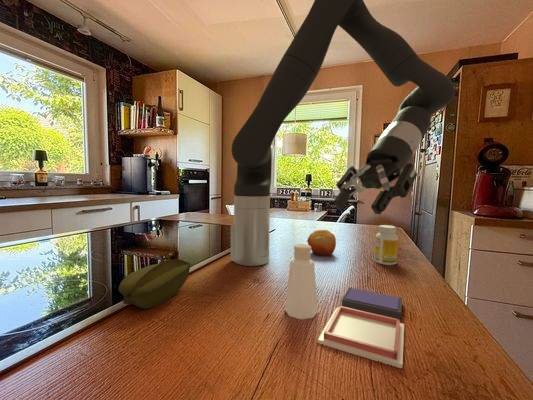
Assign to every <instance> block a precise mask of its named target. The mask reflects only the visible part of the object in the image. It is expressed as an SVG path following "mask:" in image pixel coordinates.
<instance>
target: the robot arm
mask: <svg viewBox="0 0 533 400" xmlns="http://www.w3.org/2000/svg"><path fill="white" fill-rule="evenodd" d="M337 27H340V28H341V29H342V30H343V31H345V32H346V33H347V34H348V35H349V36H350V37H351V38H352V39H353V40H354V41H355V42H356V43H357V44H358V45H359V47H361V48H362V49H363V50H364V51H365V52H366V54H368V56H369V57H370V58H371V60H372V61H373V62H374V63H375V64H376V66H377V67H378V68H379V69H380V71H381V72H382V73H383V75H384V76H385V77H386V79H387V80H388V81H389V82H390V84H391V85H393V86H394V87H402V86H403V85H405V84H407V83H409V82H411V83H413V84H415V85H417V87H415V88H414V90H412V91H411V92H410V93H409V94H408V95H407V96H406V97H405V98H404V100H402V102H401V103H400V105H399V108H398V110H397V114H396V115H395V117H394V118H393V119H392V121H391V122H390V124H389V125H388V126H387V128H385V129H384V131H383V132H382V133H381V135H380V136H379V138H378V139H377V140H376V141H375V143H374V145H373V146H372V147H371V149H370V150H369V152H368V153H367V155H366V159H365V164H364V165H363V166H362V167H361V168H355V166H354V165H351V166H349V168H348V169H347V170H346V171H345V173H344V174H343V175H342V176H341V177H340V179H339V180H338V182H337V183H336V184H335V185H336V187H337V188H338V190H339V193H338V194H337V196H336V197H335V198H334V200H333V204H334V206H335V207H336V208H337V210H343V209H344V207H345V206H346V204H347V203H348V201H350V198H351V196H353V195H354V194H356V193H361V192H363V191H365V190H366V189H375V190H376V189H377V190H380V189H382V190H380V191H379V193H378V194H377V196H376V198H375V199H374V201H372V203H371V206H370V208H371V210H372V211H373V213H374V214H375V215H381V214H382V212H385V211H386V210H387V207H388V206H389V204H390V202H392V200H394V199H395V198H397V197H400V198H402V199H403V198H404V199H405V198H406V197H407V196H408V194H409V192H410V191H411V190H410V189H412V186H413V184H414V182H415V181H416V179H417V176H418V173H417V171H416V169H415V167H414V165H413V163H411V160H412V159H413V158H414V155H415V154H416V152H417V151H418V149H419V147H420V143H421V142H422V140H423V138H424V137H425V135H426V133H427V132H428V130H429V128H430V126H431V122H432V120H431V119H432V118H431V117H432V116H434V115H435V114H436V113H437V112H439V111H440V110H442V109H443V108H445V107H446V106H447V105H448V104H450V103H452V101H453V100H454V98H455V95H456V89H455V85H454V83H453V80H451V79H450V78H449V76H447V75H446V74H445V73H443V72H441V71H439V70H438V69H436V68H434V67H433V66H431V65H430V64H429V63H427V62H426V61H424V60H423V59H422V58H420V56H419V55H418V54H417V53H416V51H415V50H414V49H413V48H412V47H411V45H410V44H409V43H408V42H407V41H406V40H405V39H404V38H403V36H402V35H400V34H399V33H397V31H395V30H393V29H391V28H389V27H387V26H385V25H383V24H381V23H380V22H379V21H378V20H376V18H375V17H374V16H373V15H372V14H371V12H370V10H369V9H368V7H367V5H366V3H365V1H364V0H314V1H313V3H312V6H311V7H310V9H309V11H308V14H307V15H306V17H305V19H304V20H303V22H302V24H301V25H300V26H299V28H298V30H297V32H296V33H295V36H294V37H293V39H292V40H291V43H289V46H288V47H287V49H286V51H285V52H284V54H283V55H282V57H281V59H280V61H279V62H278V64H277V66H276V68H275V69H274V71H273V74H272V76H271V78H270V80H269V81H268V83H267V85H266V87H265V89H264V91H263V93H262V95H261V97H260V99H259V101H258V102H257V104H256V106H255V108H254V109H253V111H252V113H251V114H250V116H249V117H248V118H247V120H246V121H245V122H244V124H243V125H242V127H241V128H240V130H239V131H238V132H237V134H235V137H234V139H233V141H232V143H231V150H230V151H231V155H232V158H233V160H234V162H236V164H237V165H236V180H235V183H234V185H233V186H234V187H233V217H234V218H233V223H232V224H231V225H230V261H231V262H234V264H236V265H240V266H244V267H245V266H246V267H247V266H248V267H257V266H261V265H266V264H268V263H269V262H270V222H271V217H270V215H271V214H270V213H271V210H270V209H271V184H272V165H273V164H272V163H273V162H272V160H273V159H272V158H273V157H272V155H273V154H272V153H273V151H272V144H273V141H274V139H275V137H276V135H277V133H278V132H279V130H280V128H281V126H282V124H283V123H284V121H285V120H286V119H287V117H288V116H289V115H290V114H291V113H292V111H294V109H295V108H297V106H298V105H299V104H300V102H301V101H302V100H303V99H304V97H305V96H306V94H307V93H308V91H309V90H310V88H311V87H312V85H313V83H314V81H315V80H316V78H317V77H318V75H319V72H320V71H321V68H322V66H323V65H324V62H325V61H324V60H325V58H326V57H327V56H326V55H327V53H328V51H329V47H330V45H331V42H332V39H333V37H334V34H335V32H336V30H337ZM358 180H359V181H360V183H361V185H359V183H358ZM395 180H397V181H396V182H395V183H394V185H393V182H394V181H395ZM352 186H354V187H352ZM351 187H352V188H351ZM350 188H351V189H350Z"/></svg>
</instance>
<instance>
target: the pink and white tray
mask: <svg viewBox="0 0 533 400" xmlns="http://www.w3.org/2000/svg"><path fill="white" fill-rule="evenodd" d="M404 333H405V323H401V320H400V319H395V318H391V317H387V316H382V315H378V314H374V313H369V312H365V311H360V310H356V309H352V308H347V307H343V306H342V305H339V306H337V307H336V308H335V310H334V311H333V313H332V314H331V316H330V318H329V320H328V322H327V323H326V325H325V326H324V328H323V330H322V332H321V334H320V335H319V337H318V339H317V344H319V343H320V344H319V345H322V344H323V346H325V347H329V348H333V349H336V350H339V351H342V352H345V353H349V354H352V355H355V356H359V357H362V358H366V359H368V360H372V361H375V362H378V361H379V362H378V363H381V362H382V364H386V365H388V364H389V366H391V365H392V367H394V366H395V368H399V369H401V368H402V369H403V364H404V363H403V360H404V359H403V358H404V336H405V334H404Z"/></svg>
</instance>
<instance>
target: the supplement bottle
mask: <svg viewBox="0 0 533 400" xmlns="http://www.w3.org/2000/svg"><path fill="white" fill-rule="evenodd" d="M396 230H397V228H396V226H395V225H390V224H381V225H379V226H378V231H379V232H378V233H376V235H375V239H374V240H375V241H374V256H373V257H374V261H375V263H377V264H380V265H384V266H385V265H387V266H394V265H396V264H397V262H398V261H397V259H398V246H399V245H398V244H399V243H398V242H399V237H398V235H397V234H395V233H396Z"/></svg>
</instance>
